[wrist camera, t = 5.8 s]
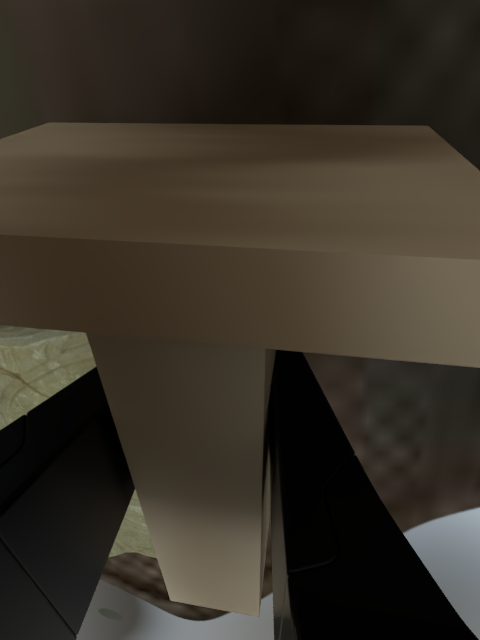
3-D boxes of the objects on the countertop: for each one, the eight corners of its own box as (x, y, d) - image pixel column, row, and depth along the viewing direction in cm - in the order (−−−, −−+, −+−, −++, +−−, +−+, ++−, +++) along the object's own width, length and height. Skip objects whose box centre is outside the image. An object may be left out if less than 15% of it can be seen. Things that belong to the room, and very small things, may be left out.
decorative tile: (159, 281, 17) (128, 330, 15) (239, 521, 29) (231, 575, 26) (-153, 306, 22) (-225, 348, 19) (22, 506, 33) (-6, 551, 30)
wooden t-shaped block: (427, 126, 7) (588, 264, 3) (342, 487, 13) (352, 685, 9) (48, 122, 8) (-243, 221, 4) (142, 460, 14) (73, 629, 10)
